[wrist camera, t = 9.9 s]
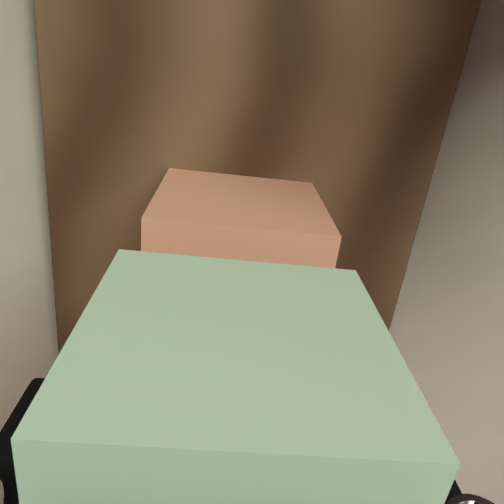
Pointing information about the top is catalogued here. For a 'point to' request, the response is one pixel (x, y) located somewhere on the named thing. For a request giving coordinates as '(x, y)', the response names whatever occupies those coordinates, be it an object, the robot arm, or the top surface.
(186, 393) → the sage block
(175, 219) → the terracotta block
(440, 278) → the top surface
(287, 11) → the base board
